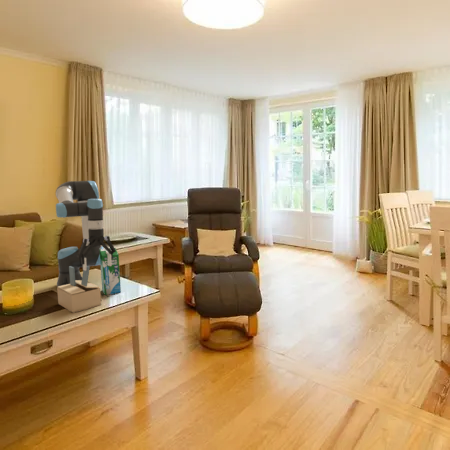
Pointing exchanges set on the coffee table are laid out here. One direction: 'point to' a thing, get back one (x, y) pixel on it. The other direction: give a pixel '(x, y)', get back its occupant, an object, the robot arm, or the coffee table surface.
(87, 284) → the flap
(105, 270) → the milk carton
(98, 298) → the carton box
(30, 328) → the coffee table surface
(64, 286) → the flap
